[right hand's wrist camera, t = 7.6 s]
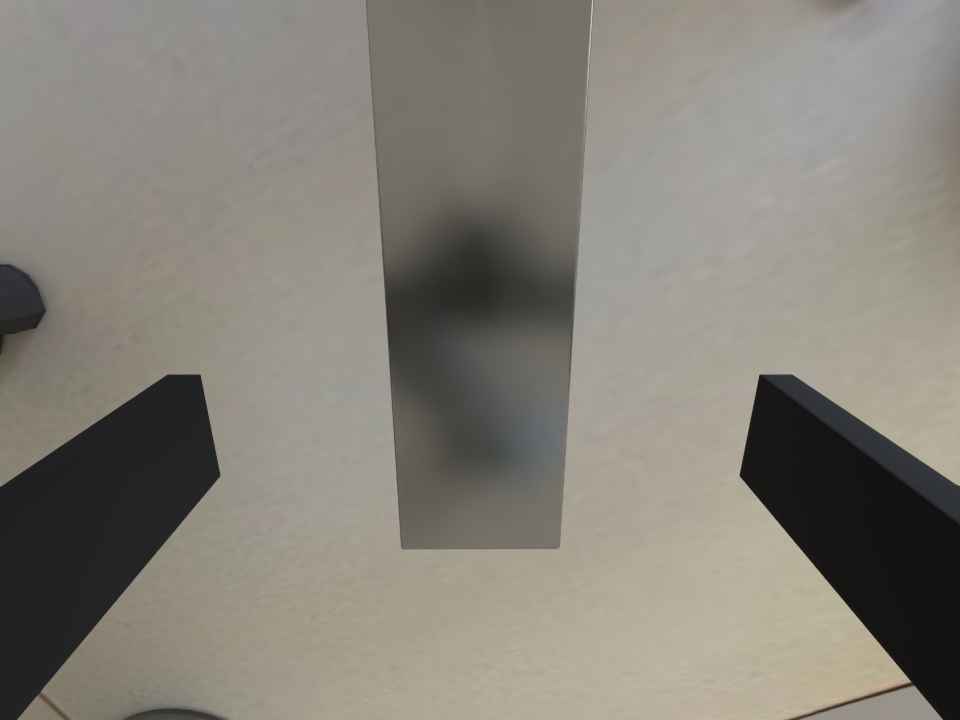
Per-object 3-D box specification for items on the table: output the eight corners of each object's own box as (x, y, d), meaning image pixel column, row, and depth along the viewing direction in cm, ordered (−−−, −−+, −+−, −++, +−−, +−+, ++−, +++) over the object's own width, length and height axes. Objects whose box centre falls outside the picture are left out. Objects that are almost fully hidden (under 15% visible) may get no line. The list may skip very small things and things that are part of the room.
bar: (532, 422, 22) (560, 549, 15) (426, 422, 22) (401, 550, 15) (569, -591, 13) (695, -1630, 5) (385, -593, 13) (259, -1636, 5)
